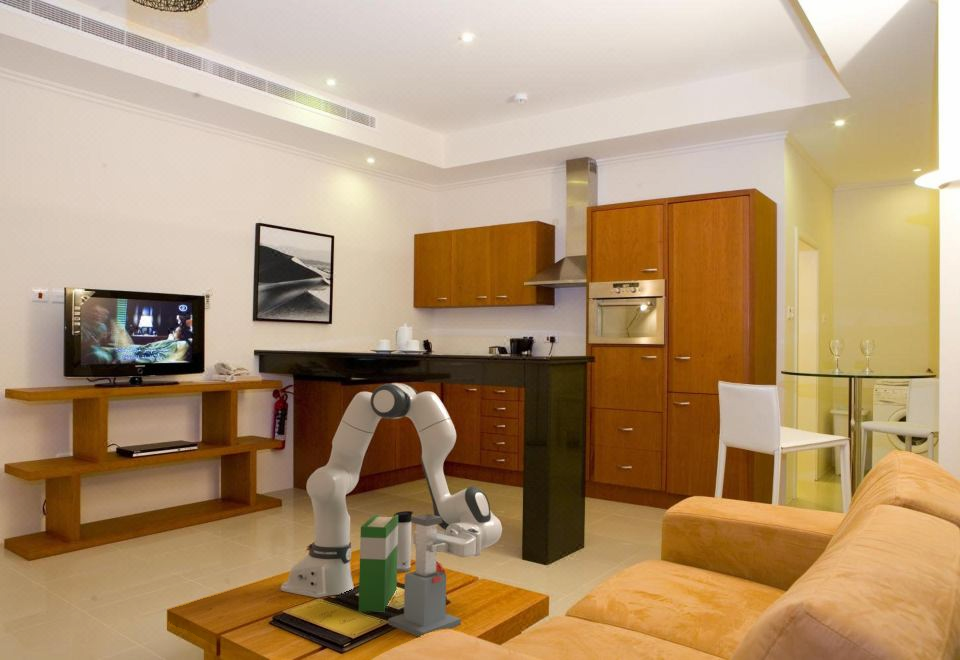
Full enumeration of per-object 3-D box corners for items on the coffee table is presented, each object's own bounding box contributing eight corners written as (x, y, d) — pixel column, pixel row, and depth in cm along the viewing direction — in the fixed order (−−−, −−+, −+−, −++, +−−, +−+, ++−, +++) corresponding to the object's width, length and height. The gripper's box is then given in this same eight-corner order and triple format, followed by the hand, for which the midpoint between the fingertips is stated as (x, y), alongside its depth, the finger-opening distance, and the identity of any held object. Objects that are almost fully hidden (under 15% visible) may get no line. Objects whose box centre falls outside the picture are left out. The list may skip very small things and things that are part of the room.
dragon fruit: (421, 596, 215) (434, 590, 227) (443, 581, 214) (455, 576, 226) (408, 572, 218) (421, 567, 229) (430, 557, 217) (441, 553, 228)
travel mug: (408, 573, 234) (409, 513, 235) (389, 571, 236) (391, 512, 237) (413, 567, 240) (414, 510, 242) (395, 566, 242) (397, 509, 243)
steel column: (409, 611, 188) (411, 516, 189) (425, 606, 192) (427, 513, 193) (424, 617, 184) (426, 520, 185) (440, 611, 188) (442, 517, 189)
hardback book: (373, 592, 214) (375, 514, 215) (396, 593, 213) (398, 514, 215) (358, 611, 196) (360, 526, 198) (383, 613, 196) (386, 527, 197)
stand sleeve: (388, 624, 187) (389, 573, 188) (425, 611, 197) (426, 563, 198) (423, 638, 178) (424, 585, 178) (460, 624, 188) (461, 574, 189)
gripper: (434, 521, 206) (399, 528, 195) (485, 533, 192) (450, 542, 182) (433, 542, 205) (398, 551, 195) (484, 556, 191) (449, 566, 181)
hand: (423, 547), depth 188 cm, fingers closed on steel column, 4 cm apart
